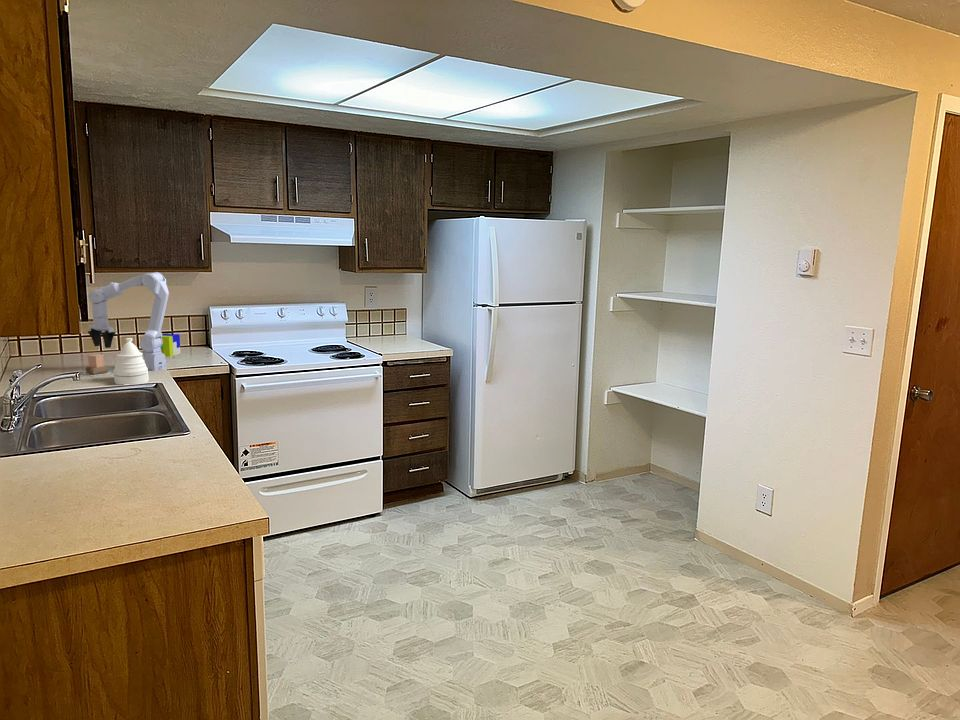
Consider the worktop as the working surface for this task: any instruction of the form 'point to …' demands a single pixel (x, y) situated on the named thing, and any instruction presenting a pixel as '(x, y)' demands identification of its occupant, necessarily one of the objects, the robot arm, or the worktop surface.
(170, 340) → the puzzle toy
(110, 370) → the build board
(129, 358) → the honey pot
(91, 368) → the base block
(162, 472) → the worktop surface
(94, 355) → the top block
